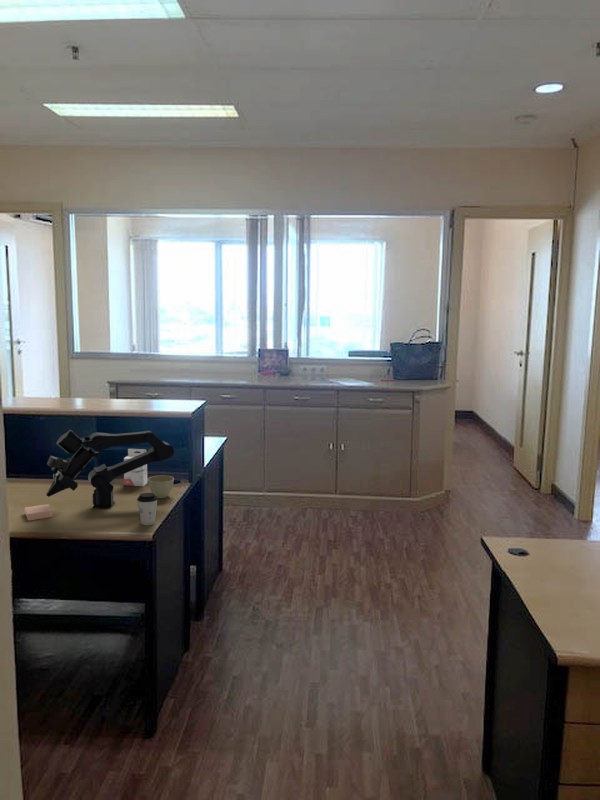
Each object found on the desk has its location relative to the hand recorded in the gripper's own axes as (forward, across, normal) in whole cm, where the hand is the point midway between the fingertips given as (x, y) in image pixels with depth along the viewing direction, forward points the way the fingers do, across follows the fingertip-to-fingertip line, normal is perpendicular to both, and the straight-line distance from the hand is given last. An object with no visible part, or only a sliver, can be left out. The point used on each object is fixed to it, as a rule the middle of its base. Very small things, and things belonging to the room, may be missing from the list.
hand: (47, 495), depth 215 cm
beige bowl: (-24, 0, +34) cm, 42 cm away
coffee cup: (-15, +26, +24) cm, 39 cm away
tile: (+3, 0, +5) cm, 6 cm away
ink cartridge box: (-22, -21, +32) cm, 44 cm away
